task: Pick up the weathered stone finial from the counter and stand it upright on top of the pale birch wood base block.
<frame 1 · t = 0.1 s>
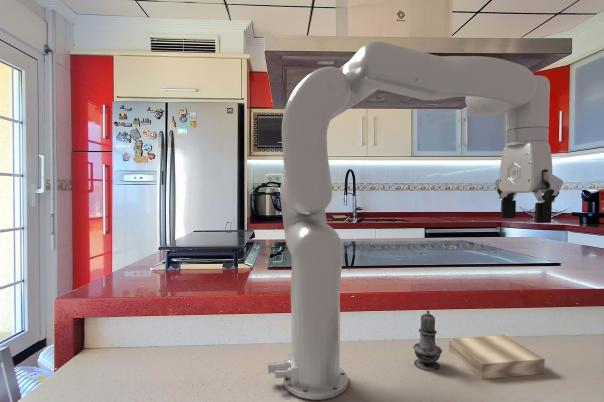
hand: (524, 220, 77), 31 cm above the countertop, tool pointing down, fingers open, 9 cm apart
weathered stone finial: (427, 365, 79), on the countertop
birch base block: (493, 361, 80), on the countertop
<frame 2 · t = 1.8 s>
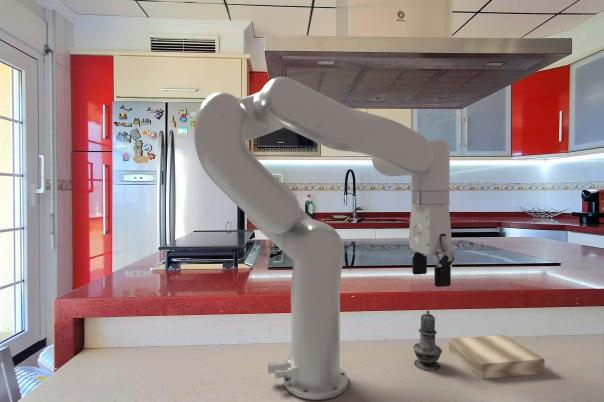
hand: (430, 279, 78), 18 cm above the countertop, tool pointing down, fingers open, 9 cm apart
nothing on the countertop moved.
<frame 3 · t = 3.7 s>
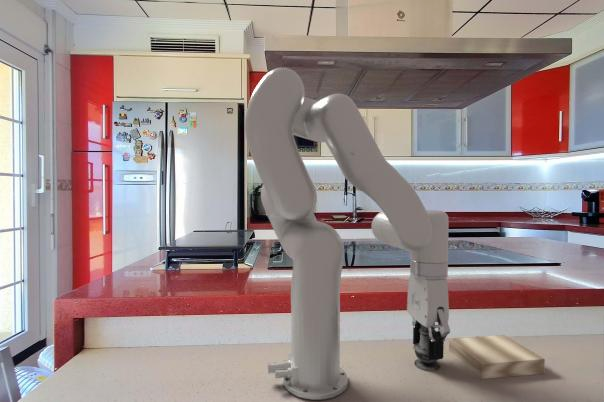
hand: (427, 350, 79), 3 cm above the countertop, tool pointing down, fingers closed on weathered stone finial, 5 cm apart
weathered stone finial: (427, 365, 79), on the countertop, touching gripper
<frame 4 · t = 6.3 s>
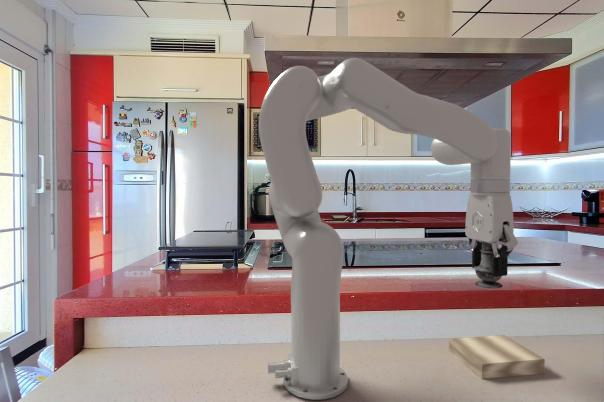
hand: (488, 271, 79), 20 cm above the countertop, tool pointing down, fingers closed on weathered stone finial, 5 cm apart
weathered stone finial: (488, 285, 79), point 17 cm above the countertop, touching gripper
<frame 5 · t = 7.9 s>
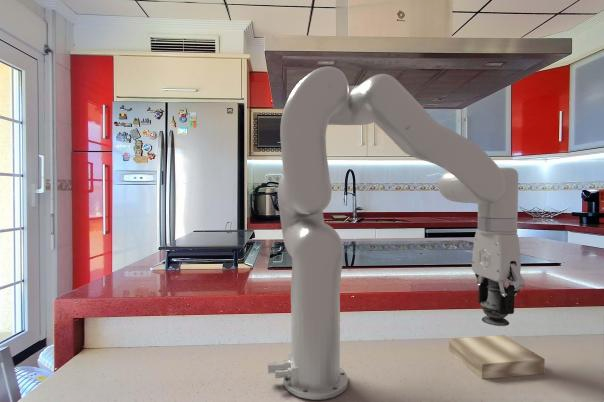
hand: (495, 307, 80), 12 cm above the countertop, tool pointing down, fingers closed on weathered stone finial, 5 cm apart
weathered stone finial: (495, 322, 80), point 9 cm above the countertop, touching gripper
when the fingers open (7 cm above the countertop, at t = 9.2 s): weathered stone finial drops 1 cm, resting on birch base block.
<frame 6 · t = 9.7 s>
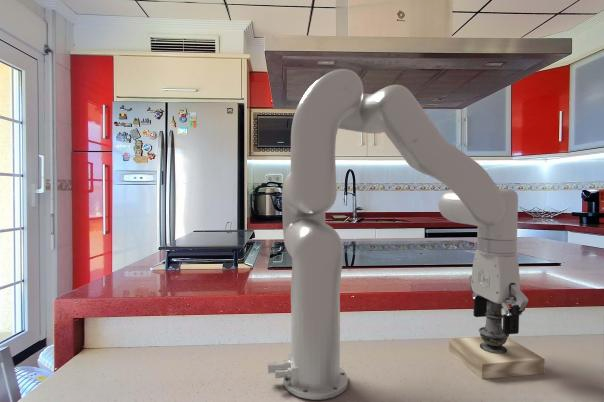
hand: (494, 324, 80), 8 cm above the countertop, tool pointing down, fingers open, 9 cm apart
weathered stone finial: (493, 349, 80), point 3 cm above the countertop, touching birch base block
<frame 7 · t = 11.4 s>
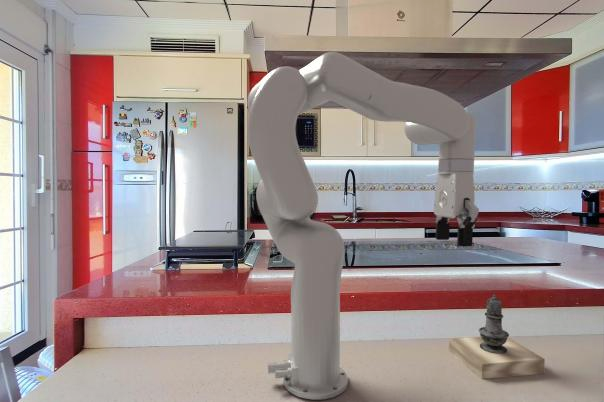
hand: (452, 242, 85), 25 cm above the countertop, tool pointing down, fingers open, 9 cm apart
nothing on the countertop moved.
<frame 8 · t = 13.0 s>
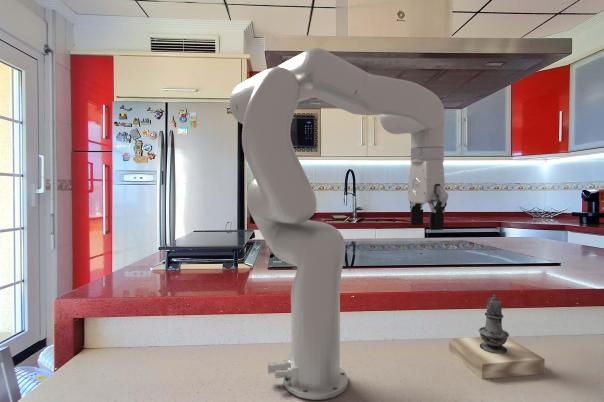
hand: (426, 227, 89), 28 cm above the countertop, tool pointing down, fingers open, 9 cm apart
nothing on the countertop moved.
at the end: weathered stone finial inside the target area on the birch base block (0.2 cm from its centre), point 2.8 cm above the birch base block's base; weathered stone finial tilted 0°; the gripper is holding nothing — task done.
